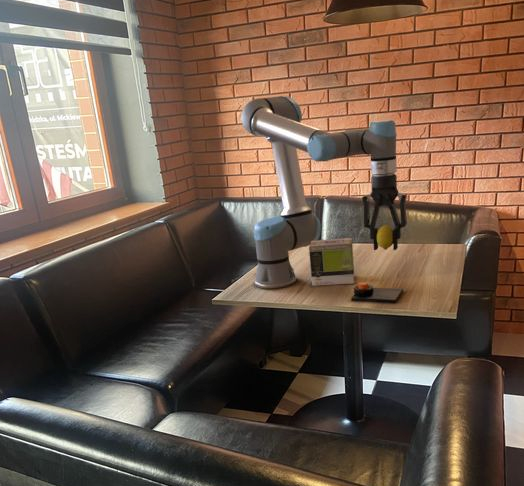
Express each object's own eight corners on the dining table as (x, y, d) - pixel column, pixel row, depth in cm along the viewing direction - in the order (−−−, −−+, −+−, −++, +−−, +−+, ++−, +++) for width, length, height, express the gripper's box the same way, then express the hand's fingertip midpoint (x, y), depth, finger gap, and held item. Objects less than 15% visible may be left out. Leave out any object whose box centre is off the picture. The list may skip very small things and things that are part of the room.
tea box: (354, 276, 197) (352, 236, 192) (354, 284, 187) (352, 243, 182) (313, 278, 200) (310, 239, 194) (311, 286, 190) (308, 245, 185)
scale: (349, 301, 172) (349, 292, 171) (359, 290, 181) (359, 281, 180) (395, 303, 165) (395, 294, 164) (402, 292, 175) (402, 283, 174)
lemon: (394, 251, 167) (394, 226, 164) (376, 252, 168) (376, 227, 166) (394, 247, 172) (393, 222, 170) (376, 248, 174) (376, 223, 171)
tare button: (357, 289, 174) (357, 284, 173) (360, 286, 176) (359, 281, 176) (366, 290, 172) (366, 284, 172) (369, 287, 175) (369, 281, 174)
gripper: (350, 177, 163) (354, 251, 171) (412, 174, 155) (413, 252, 163) (357, 174, 169) (360, 246, 177) (417, 171, 161) (417, 246, 169)
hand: (385, 248), depth 170 cm, fingers closed on lemon, 5 cm apart
